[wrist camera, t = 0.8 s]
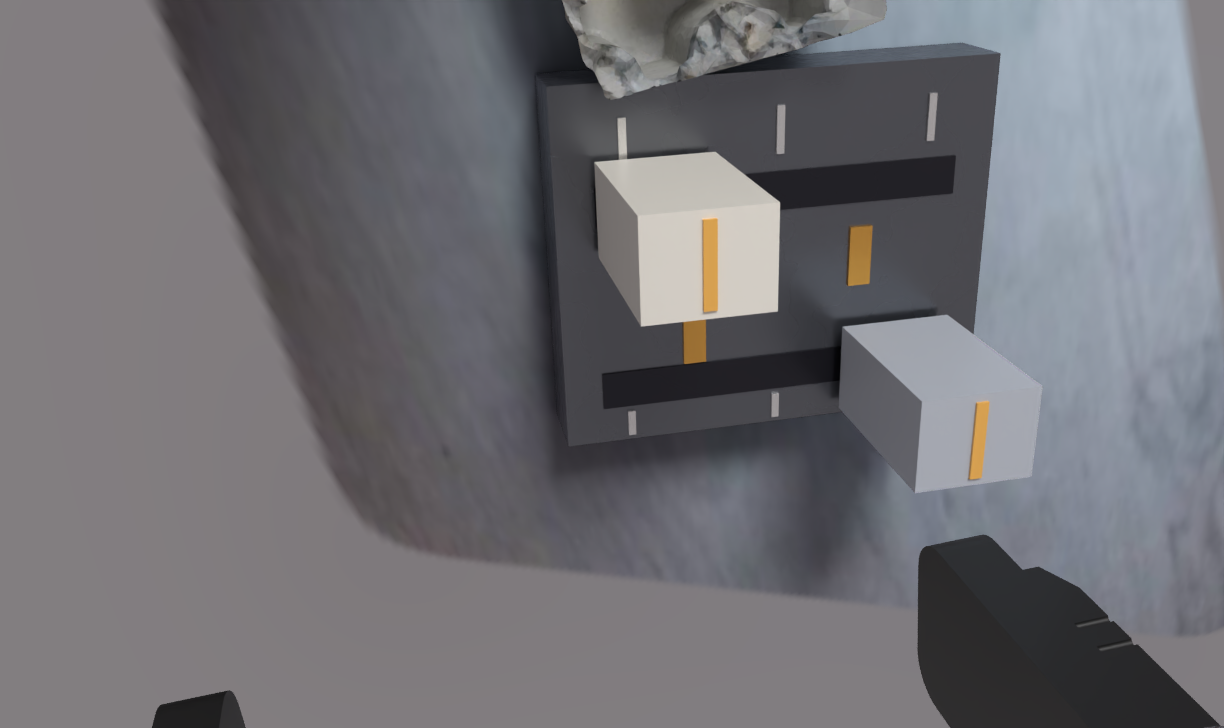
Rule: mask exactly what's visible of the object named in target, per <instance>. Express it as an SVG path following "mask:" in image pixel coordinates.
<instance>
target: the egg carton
mask: <svg viewBox="0 0 1224 728" xmlns="http://www.w3.org/2000/svg"><path fill="white" fill-rule="evenodd" d="M562 2H563V5H564V8H565V18H566V20H567V22H568V23H569V25H570V26H571V28H572V29H573V31H574V33H575V34H576V35H577V38H578V41H579V47H580V52H581V56H582V59H583V61H584V63H585V64H586V66H587V67H588V68H590V69H592V70H593V71H594V72H595V74H596V76H597V79H598V81H599V83H600V85H601V86H602V88H603V92H604V96H605V97H606V98H607V99H609V100H613V99H618V98H622V97H625V96H629V95H632V94H634V93H635V92H639V91H643V90H646V89H650V88H654V87H657V86H661V85H665V84H669V83H673V82H680V81H683V80H687V79H691V78H695V77H698V76H701V75H704V74H707V73H711V72H715V71H718V70H722V69H726V68H730V67H734V66H737V65H741V64H745V63H749V62H752V61H756V60H759V59H762V58H766V57H770V56H774V55H778V54H781V53H785V52H789V51H793V50H797V49H800V48H804V47H806V46H808V45H810V44H813V43H816V42H819V41H823V40H827V39H831V38H835V37H838V36H842V35H845V34H848V33H851V32H854V31H856V30H859V29H861V28H864V27H866V26H869V25H871V24H874V23H876V22H879V21H881V20H884V18H885V14H886V11H887V6H886V0H562Z"/></svg>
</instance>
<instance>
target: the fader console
mask: <svg viewBox="0 0 1224 728" xmlns="http://www.w3.org/2000/svg"><path fill="white" fill-rule="evenodd" d="M999 63H1000V53H998V52H994V51H991V50H987V49H983V48H980V47H976V46H972V45H969V44H965V43H953V44H940V45H926V46H912V47H898V48H884V49H870V50H856V51H842V52H828V53H814V54H800V55H787V56H773V57H766V58H762V59H759V60H756V61H752V62H749V63H745V64H741V65H737V66H734V67H730V68H726V69H722V70H718V71H715V72H711V73H707V74H704V75H701V76H698V77H695V78H691V79H687V80H683V81H680V82H673V83H669V84H665V85H661V86H657V87H654V88H650V89H646V90H643V91H639V92H635V93H634V94H632V95H629V96H625V97H622V98H618V99H613V100H609V99H607V98H606V97H605V96H604V92H603V88H602V86H601V85H600V83H599V81H598V79H597V76H596V74H595V72H594V71H593V70H578V71H564V72H550V73H536V74H535V81H536V96H537V112H538V127H539V142H540V158H541V173H542V189H543V204H544V219H545V235H546V250H547V266H548V281H549V296H550V312H551V327H552V343H553V358H554V373H555V389H556V404H557V416H558V418H559V421H560V424H561V427H562V430H563V432H564V435H565V438H566V441H567V444H568V447H570V446H578V445H585V444H593V443H601V442H609V441H617V440H625V439H633V438H641V437H648V436H656V435H664V434H672V433H680V432H688V431H696V430H703V429H711V428H719V427H727V426H735V425H743V424H751V423H759V422H766V421H774V420H782V419H790V418H798V417H806V416H814V415H821V414H829V413H837V412H842V411H841V410H840V409H839V389H840V368H841V346H842V327H844V326H853V325H862V324H870V323H879V322H888V321H897V320H905V319H914V318H923V317H932V316H940V315H948V316H950V317H951V318H952V319H954V320H955V321H956V322H958V323H959V324H960V325H962V326H963V327H964V328H966V329H967V330H968V331H970V332H971V333H972V334H974V323H975V313H976V302H977V292H978V282H979V271H980V261H981V250H982V240H983V230H984V219H985V209H986V199H987V188H988V178H989V167H990V157H991V147H992V136H993V126H994V115H995V105H996V95H997V84H998V74H999ZM706 152H716V153H718V154H719V155H720V156H721V157H723V158H724V159H725V160H727V161H728V162H729V163H730V164H732V165H733V166H734V167H735V168H737V169H738V170H739V171H741V172H742V173H743V174H744V175H746V176H747V177H748V178H750V179H751V180H752V181H753V182H755V183H756V184H757V185H759V186H760V187H761V188H762V189H764V190H765V191H766V192H767V193H769V194H770V195H771V196H773V197H774V198H775V199H776V200H778V201H779V202H780V233H779V280H778V312H769V313H760V314H750V315H741V316H732V317H723V318H714V319H705V320H696V321H687V322H678V323H669V324H660V325H651V326H642V327H641V326H640V324H639V322H638V321H637V319H636V318H635V316H634V314H633V313H632V311H631V309H630V308H629V306H628V305H627V303H626V301H625V300H624V298H623V296H622V295H621V293H620V292H619V290H618V288H617V287H616V285H615V283H614V282H613V280H612V278H611V277H610V275H609V274H608V272H607V270H606V269H605V267H604V265H603V264H602V262H601V261H600V259H599V254H598V232H597V210H596V188H595V166H594V162H601V161H612V160H624V159H636V158H647V157H659V156H671V155H683V154H694V153H706Z"/></svg>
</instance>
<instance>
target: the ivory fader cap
mask: <svg viewBox="0 0 1224 728" xmlns="http://www.w3.org/2000/svg"><path fill="white" fill-rule="evenodd" d="M594 166H595V188H596V210H597V232H598V254H599V259H600V261H601V262H602V264H603V265H604V267H605V269H606V270H607V272H608V274H609V275H610V277H611V278H612V280H613V282H614V283H615V285H616V287H617V288H618V290H619V292H620V293H621V295H622V296H623V298H624V300H625V301H626V303H627V305H628V306H629V308H630V309H631V311H632V313H633V314H634V316H635V318H636V319H637V321H638V322H639V324H640V326H641V327H642V326H651V325H660V324H669V323H678V322H687V321H696V320H705V319H714V318H723V317H732V316H741V315H750V314H760V313H769V312H778V280H779V233H780V202H779V201H778V200H776V199H775V198H774V197H773V196H771V195H770V194H769V193H767V192H766V191H765V190H764V189H762V188H761V187H760V186H759V185H757V184H756V183H755V182H753V181H752V180H751V179H750V178H748V177H747V176H746V175H744V174H743V173H742V172H741V171H739V170H738V169H737V168H735V167H734V166H733V165H732V164H730V163H729V162H728V161H727V160H725V159H724V158H723V157H721V156H720V155H719V154H718V153H716V152H706V153H694V154H683V155H671V156H659V157H647V158H636V159H624V160H612V161H601V162H594Z"/></svg>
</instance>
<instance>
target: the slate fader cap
mask: <svg viewBox="0 0 1224 728" xmlns="http://www.w3.org/2000/svg"><path fill="white" fill-rule="evenodd" d="M1042 388H1043V386H1042V385H1040V384H1039V383H1038V382H1036V381H1035V380H1034V379H1032V378H1031V377H1030V376H1028V375H1027V374H1026V373H1024V372H1023V371H1022V370H1020V369H1019V368H1018V367H1016V366H1015V365H1014V364H1012V363H1011V362H1010V361H1008V360H1007V359H1006V358H1004V357H1003V356H1002V355H1000V354H999V353H998V352H996V351H995V350H994V349H992V348H991V347H990V346H988V345H987V344H986V343H984V342H983V341H982V340H980V339H979V338H978V337H976V336H975V335H974V334H972V333H971V332H970V331H968V330H967V329H966V328H964V327H963V326H962V325H960V324H959V323H958V322H956V321H955V320H954V319H952V318H951V317H950V316H948V315H940V316H932V317H923V318H914V319H905V320H897V321H888V322H879V323H870V324H862V325H853V326H844V327H842V346H841V368H840V389H839V409H840V410H841V411H842V412H843V413H844V414H845V415H846V417H847V418H848V419H849V420H850V421H851V422H852V423H853V424H854V425H855V427H856V428H857V429H858V430H859V431H860V432H861V433H862V434H863V436H864V437H865V438H866V439H867V440H868V441H869V442H870V443H871V444H872V446H873V447H874V448H875V449H876V450H877V451H878V452H879V453H880V455H881V456H882V457H883V458H884V459H885V460H886V461H887V462H888V464H889V465H890V466H891V467H892V468H893V469H894V470H895V471H896V472H897V474H898V475H899V476H900V477H901V478H902V479H903V480H904V481H905V483H906V484H907V485H908V486H909V487H910V488H911V489H912V490H913V491H914V493H919V492H926V491H933V490H940V489H947V488H954V487H962V486H969V485H976V484H983V483H990V482H997V481H1004V480H1011V479H1018V478H1025V477H1031V476H1032V468H1033V460H1034V452H1035V444H1036V436H1037V428H1038V420H1039V412H1040V404H1041V396H1042Z"/></svg>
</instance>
